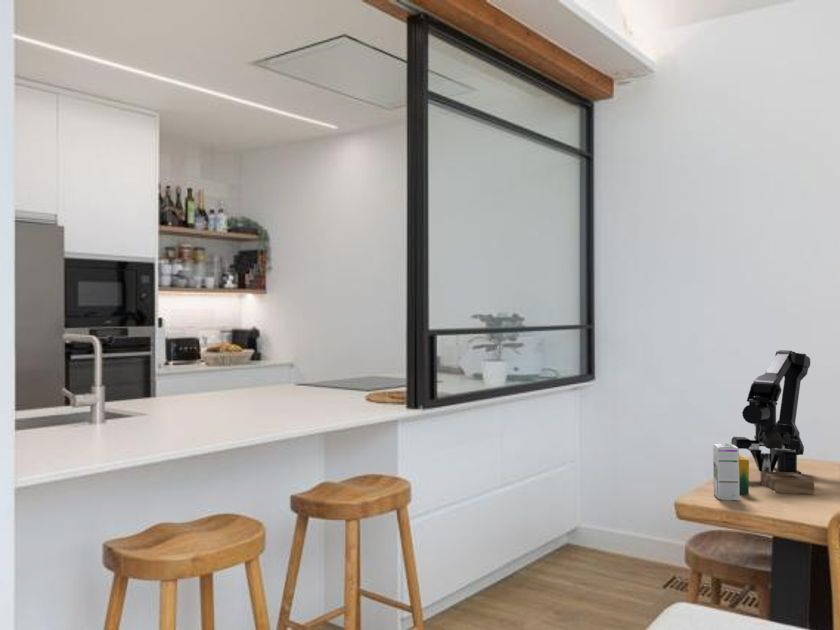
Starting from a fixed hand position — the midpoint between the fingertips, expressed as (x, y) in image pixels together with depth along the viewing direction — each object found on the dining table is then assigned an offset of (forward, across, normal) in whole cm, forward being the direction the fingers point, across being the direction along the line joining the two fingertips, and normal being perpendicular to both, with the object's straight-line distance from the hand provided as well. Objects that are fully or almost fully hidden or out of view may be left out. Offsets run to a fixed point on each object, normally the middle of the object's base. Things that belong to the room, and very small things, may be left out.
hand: (765, 471), depth 214 cm
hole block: (+2, +2, -11) cm, 11 cm away
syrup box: (+3, -19, -25) cm, 32 cm away
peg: (+2, 0, 0) cm, 2 cm away
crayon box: (+3, -13, -17) cm, 22 cm away
